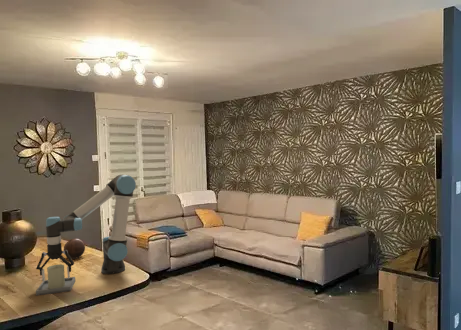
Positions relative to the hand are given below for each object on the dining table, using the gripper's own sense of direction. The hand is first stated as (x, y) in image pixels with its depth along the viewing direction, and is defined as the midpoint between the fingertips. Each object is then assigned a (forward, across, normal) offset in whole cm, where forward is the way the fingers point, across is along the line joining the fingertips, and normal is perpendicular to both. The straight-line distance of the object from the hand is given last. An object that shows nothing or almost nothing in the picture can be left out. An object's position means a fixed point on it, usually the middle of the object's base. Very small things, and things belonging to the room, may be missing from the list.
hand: (56, 279), depth 211 cm
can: (+4, 0, 0) cm, 4 cm away
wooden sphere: (+5, -1, -64) cm, 64 cm away
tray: (+5, 0, 0) cm, 5 cm away
